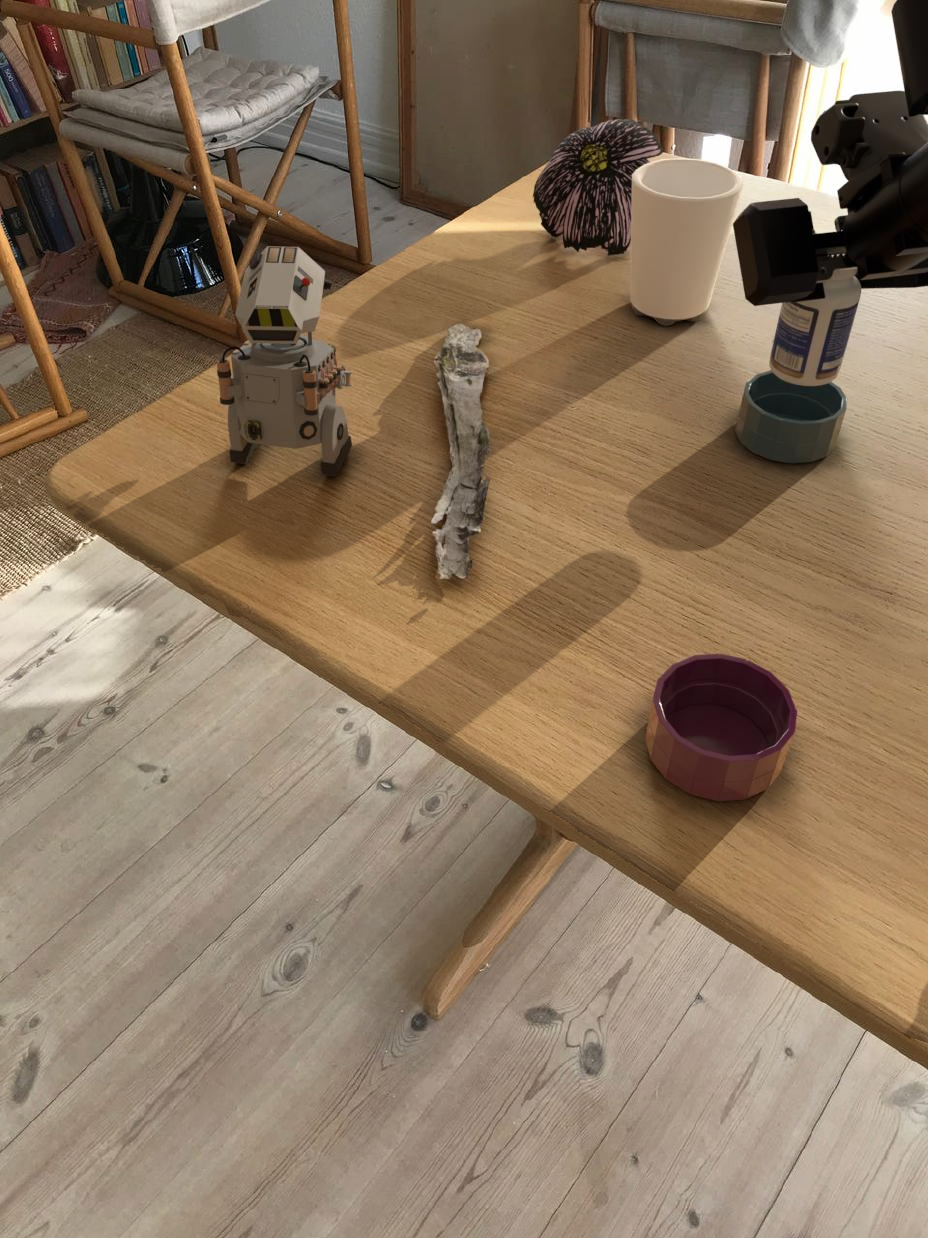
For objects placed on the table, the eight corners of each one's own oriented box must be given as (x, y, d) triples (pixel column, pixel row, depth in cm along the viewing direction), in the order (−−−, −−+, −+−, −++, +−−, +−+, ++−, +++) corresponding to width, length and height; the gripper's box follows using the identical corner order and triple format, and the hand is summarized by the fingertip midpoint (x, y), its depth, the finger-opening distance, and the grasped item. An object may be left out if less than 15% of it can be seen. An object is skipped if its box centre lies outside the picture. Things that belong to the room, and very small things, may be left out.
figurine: (373, 412, 86) (359, 242, 76) (330, 492, 78) (308, 314, 68) (273, 400, 88) (246, 231, 77) (221, 476, 80) (183, 300, 69)
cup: (722, 292, 102) (746, 162, 93) (715, 339, 95) (740, 204, 86) (624, 281, 103) (638, 153, 94) (610, 327, 97) (624, 193, 88)
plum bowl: (787, 715, 62) (802, 671, 59) (774, 819, 57) (790, 776, 54) (658, 685, 64) (667, 641, 61) (633, 783, 58) (642, 740, 56)
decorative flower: (502, 146, 104) (599, 70, 108) (500, 228, 115) (589, 157, 119) (607, 222, 100) (704, 140, 104) (595, 300, 111) (683, 224, 115)
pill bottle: (832, 354, 80) (864, 234, 74) (843, 390, 77) (879, 266, 70) (763, 351, 81) (789, 232, 74) (771, 386, 77) (800, 264, 70)
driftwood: (492, 328, 97) (441, 333, 97) (490, 303, 95) (437, 308, 96) (492, 581, 70) (422, 586, 71) (489, 554, 69) (417, 559, 69)
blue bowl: (837, 419, 85) (849, 378, 82) (831, 473, 80) (844, 430, 77) (741, 404, 87) (750, 362, 84) (729, 455, 81) (738, 413, 79)
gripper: (1058, 47, 61) (908, 168, 77) (775, 70, 58) (678, 192, 74) (1089, 226, 61) (932, 312, 77) (807, 258, 58) (703, 340, 74)
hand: (813, 285), depth 75 cm, fingers closed on pill bottle, 5 cm apart
